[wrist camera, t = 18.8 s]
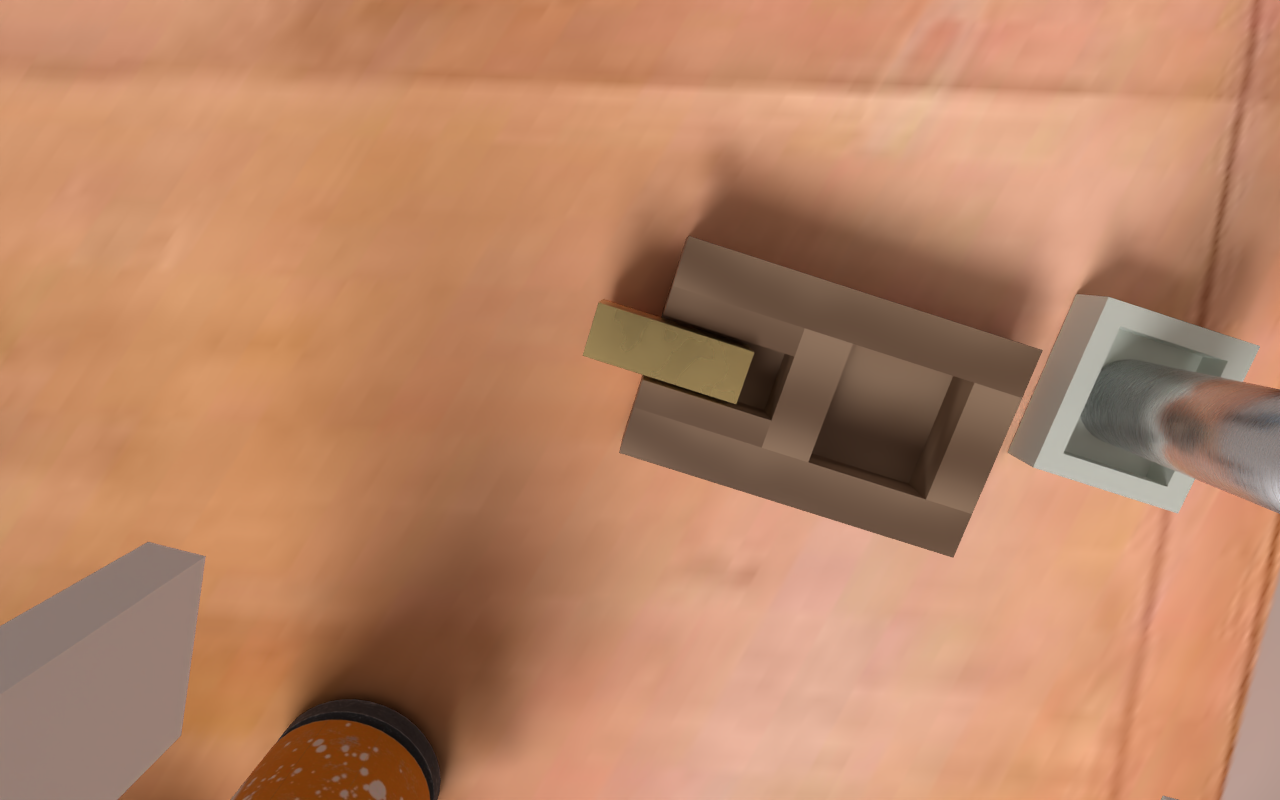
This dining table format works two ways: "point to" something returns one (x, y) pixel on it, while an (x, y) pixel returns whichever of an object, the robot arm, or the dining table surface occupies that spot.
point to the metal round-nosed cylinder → (1192, 425)
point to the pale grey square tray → (1071, 371)
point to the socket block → (835, 400)
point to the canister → (347, 758)
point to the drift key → (668, 351)
